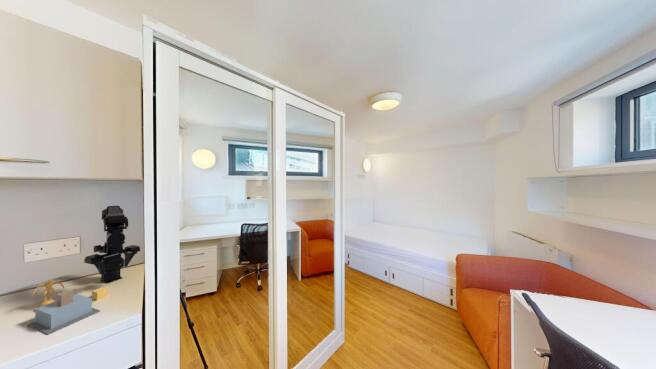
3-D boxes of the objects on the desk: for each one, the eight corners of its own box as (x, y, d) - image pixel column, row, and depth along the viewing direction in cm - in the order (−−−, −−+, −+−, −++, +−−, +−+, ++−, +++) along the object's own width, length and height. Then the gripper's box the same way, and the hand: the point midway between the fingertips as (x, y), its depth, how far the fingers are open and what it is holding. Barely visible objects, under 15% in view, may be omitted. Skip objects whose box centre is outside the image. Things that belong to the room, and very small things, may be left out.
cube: (103, 294, 99) (103, 286, 98) (108, 296, 97) (108, 288, 97) (91, 299, 95) (91, 291, 95) (97, 300, 94) (97, 292, 94)
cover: (91, 311, 86) (92, 288, 86) (50, 329, 75) (51, 303, 75) (76, 305, 89) (77, 283, 89) (35, 322, 78) (35, 297, 78)
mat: (80, 304, 91) (80, 303, 91) (100, 311, 87) (100, 310, 87) (27, 325, 77) (27, 324, 77) (47, 334, 73) (47, 333, 73)
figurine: (30, 315, 82) (30, 287, 82) (32, 309, 86) (33, 282, 86) (63, 306, 89) (63, 280, 88) (64, 300, 92) (64, 275, 92)
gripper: (127, 233, 110) (126, 260, 110) (77, 243, 92) (76, 276, 92) (141, 235, 107) (140, 264, 107) (92, 246, 89) (91, 280, 89)
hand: (114, 270), depth 99 cm, fingers open, 9 cm apart
